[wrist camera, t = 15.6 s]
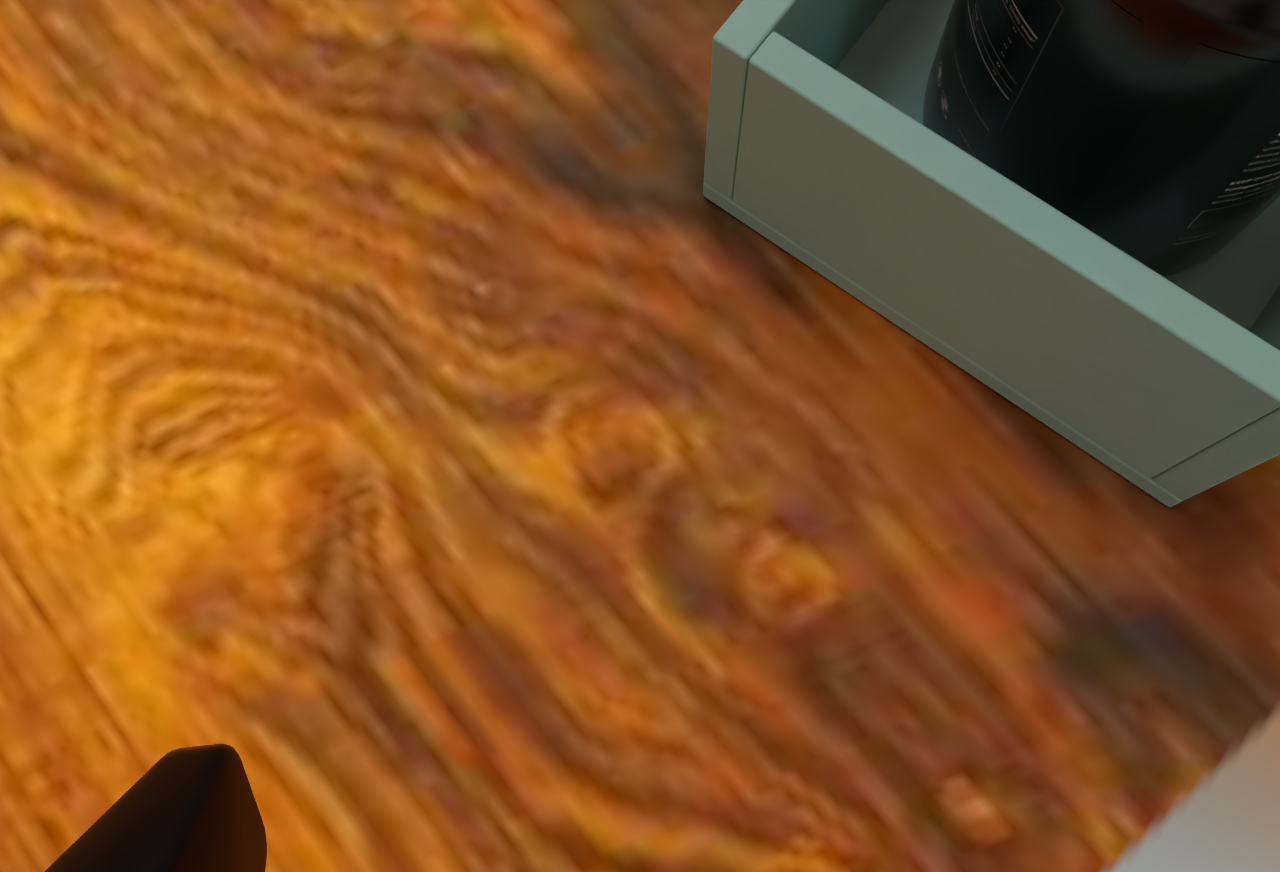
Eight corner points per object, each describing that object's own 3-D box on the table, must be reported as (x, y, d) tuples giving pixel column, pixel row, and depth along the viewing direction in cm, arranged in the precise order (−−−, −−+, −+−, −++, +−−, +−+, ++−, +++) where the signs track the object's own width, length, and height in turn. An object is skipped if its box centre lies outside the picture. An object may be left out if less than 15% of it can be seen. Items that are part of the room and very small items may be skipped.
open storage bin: (1442, 91, 24) (1663, -96, 19) (1169, 509, 22) (1331, 433, 17) (991, -168, 26) (1075, -406, 21) (701, 196, 24) (710, 36, 19)
